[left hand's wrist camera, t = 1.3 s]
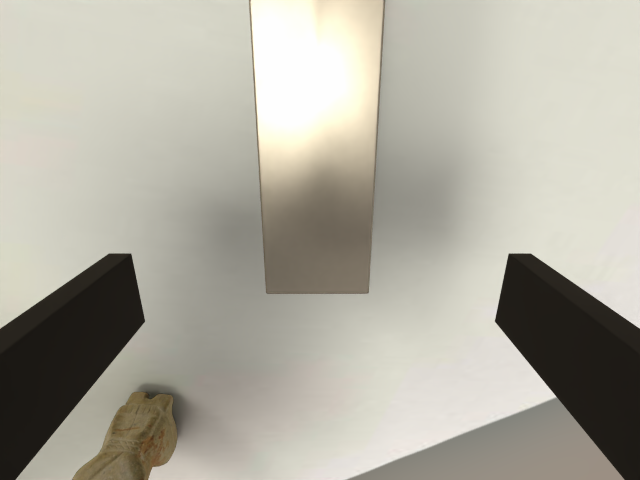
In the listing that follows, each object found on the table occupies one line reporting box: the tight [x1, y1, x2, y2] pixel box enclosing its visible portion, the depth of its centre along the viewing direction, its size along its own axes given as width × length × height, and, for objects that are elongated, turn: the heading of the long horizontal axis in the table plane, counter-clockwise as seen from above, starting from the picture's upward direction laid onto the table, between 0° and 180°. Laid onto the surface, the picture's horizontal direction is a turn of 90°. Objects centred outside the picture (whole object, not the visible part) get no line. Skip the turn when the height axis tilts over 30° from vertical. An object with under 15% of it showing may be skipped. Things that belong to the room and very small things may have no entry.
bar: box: [249, 0, 385, 294], centre depth 19 cm, size 23×6×9 cm, turn 0°
